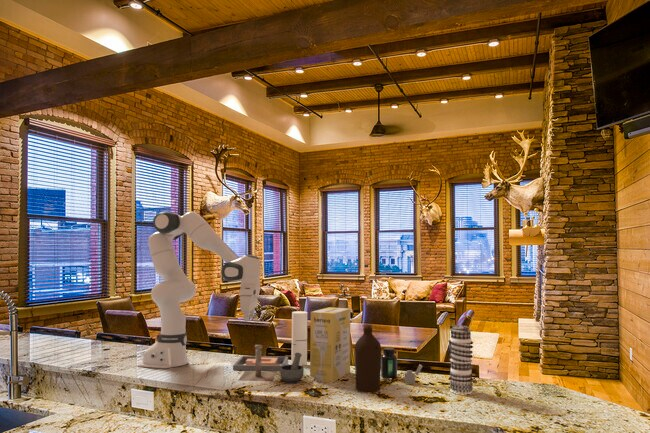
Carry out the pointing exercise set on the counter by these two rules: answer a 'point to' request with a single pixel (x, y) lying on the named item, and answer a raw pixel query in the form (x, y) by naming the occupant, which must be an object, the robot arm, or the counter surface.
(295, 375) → the mortar and pestle
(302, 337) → the cylindrical container
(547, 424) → the counter surface
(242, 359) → the tray
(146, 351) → the robot arm
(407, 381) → the lighter
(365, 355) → the olive oil
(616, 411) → the counter surface
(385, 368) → the supplement bottle
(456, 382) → the grey banded cylinder
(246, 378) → the stake stand
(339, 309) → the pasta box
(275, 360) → the ring
